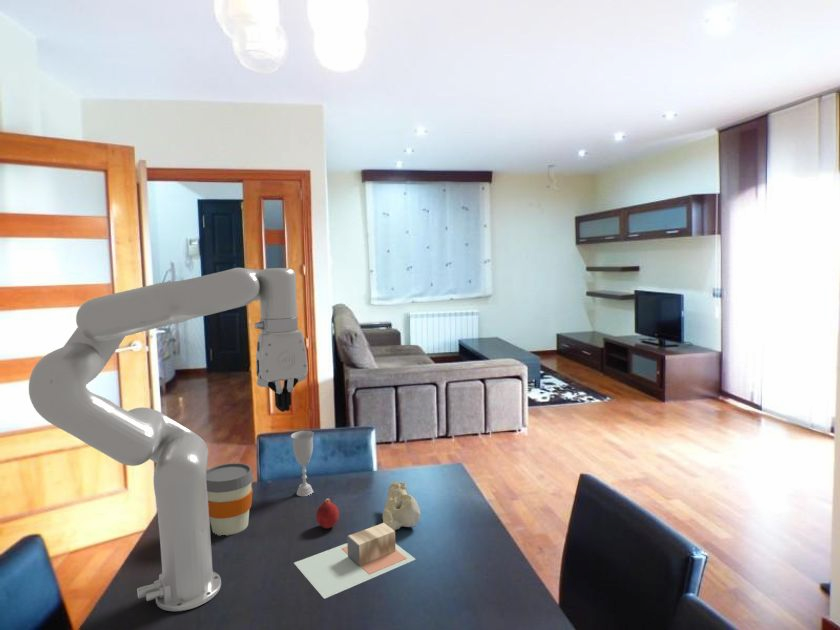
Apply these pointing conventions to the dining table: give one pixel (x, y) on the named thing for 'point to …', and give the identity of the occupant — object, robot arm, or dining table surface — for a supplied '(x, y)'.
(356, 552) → the maple block
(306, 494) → the chalice
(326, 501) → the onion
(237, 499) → the reusable coffee cup
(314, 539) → the dining table surface
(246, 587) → the dining table surface
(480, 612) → the dining table surface
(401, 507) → the beige rock
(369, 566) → the mat
